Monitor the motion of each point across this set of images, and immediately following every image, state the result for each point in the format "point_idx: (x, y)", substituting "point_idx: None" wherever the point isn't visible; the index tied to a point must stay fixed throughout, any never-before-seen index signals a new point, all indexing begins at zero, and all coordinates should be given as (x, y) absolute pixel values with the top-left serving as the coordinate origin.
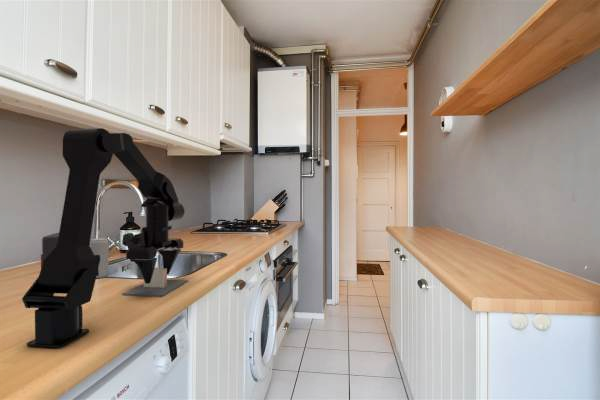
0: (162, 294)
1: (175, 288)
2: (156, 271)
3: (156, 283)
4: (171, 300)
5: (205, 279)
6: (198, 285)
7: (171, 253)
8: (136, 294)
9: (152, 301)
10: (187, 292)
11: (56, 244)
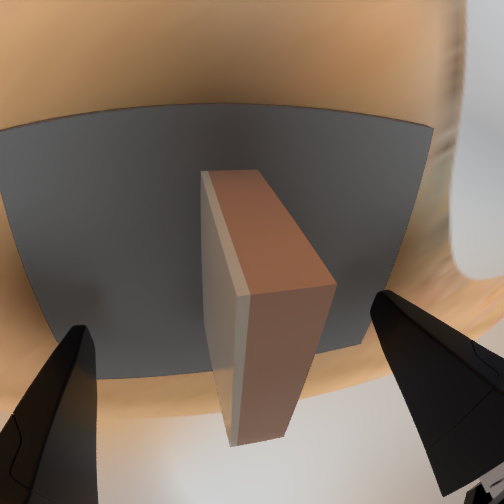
0: None
1: None
2: (226, 396)
3: (207, 302)
4: None
5: (374, 369)
6: None
7: (458, 465)
8: (19, 250)
9: (14, 364)
10: (174, 412)
11: None
